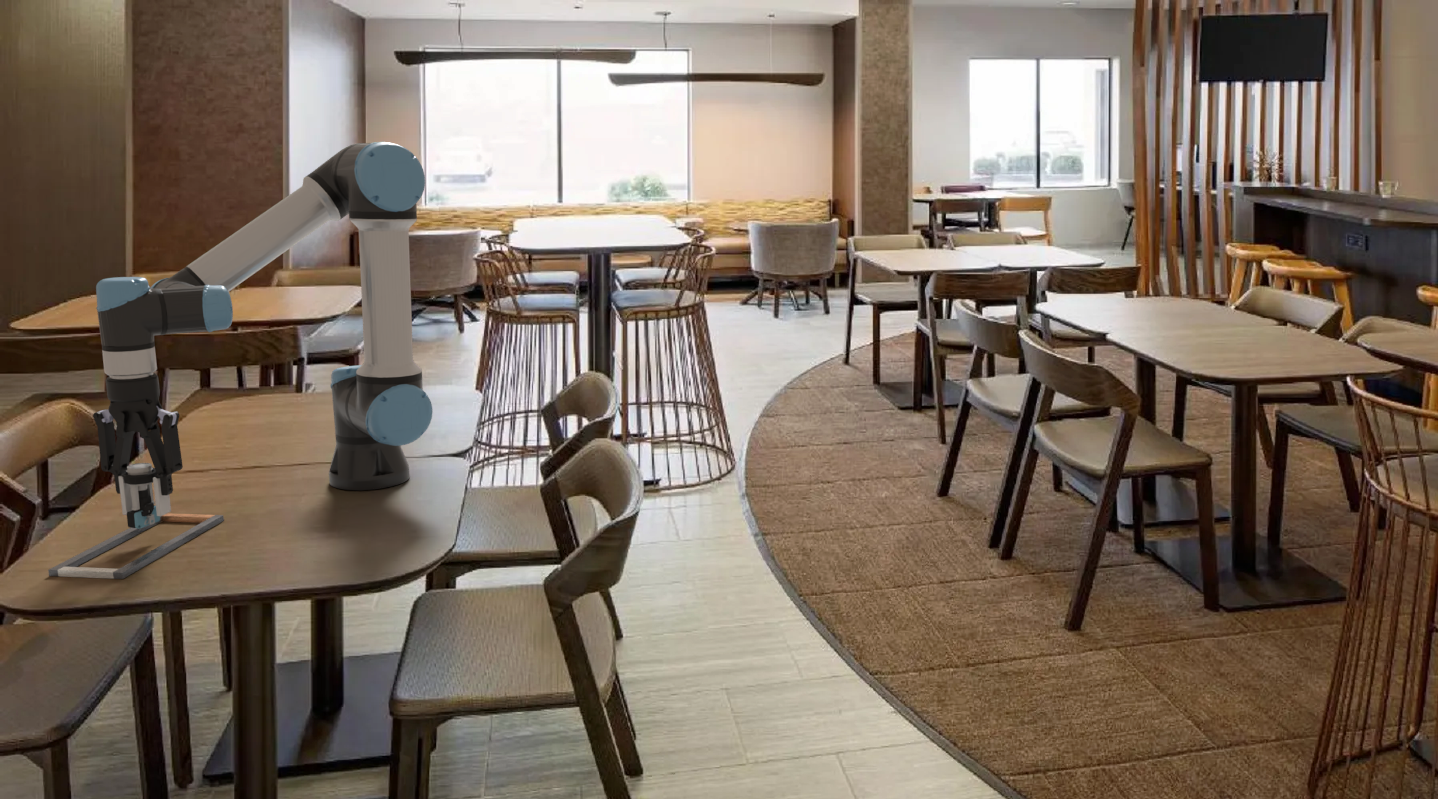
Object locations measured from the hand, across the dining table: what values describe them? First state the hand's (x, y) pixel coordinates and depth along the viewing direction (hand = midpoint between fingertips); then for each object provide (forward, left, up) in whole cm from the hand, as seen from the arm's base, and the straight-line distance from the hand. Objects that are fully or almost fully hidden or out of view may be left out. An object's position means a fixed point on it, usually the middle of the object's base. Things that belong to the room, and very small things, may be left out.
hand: (147, 512), depth 184 cm
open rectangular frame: (0, +2, -5) cm, 6 cm away
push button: (0, 0, -2) cm, 2 cm away
